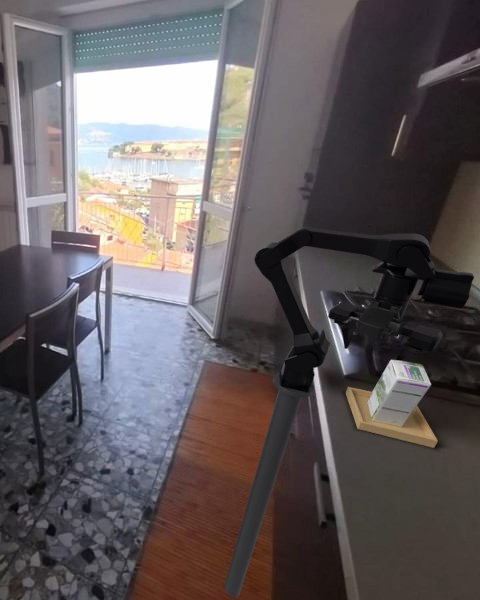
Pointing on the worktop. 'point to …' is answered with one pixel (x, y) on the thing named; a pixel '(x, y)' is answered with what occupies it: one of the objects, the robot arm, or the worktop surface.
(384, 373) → the syrup box
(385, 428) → the tray
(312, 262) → the worktop surface
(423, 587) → the worktop surface
